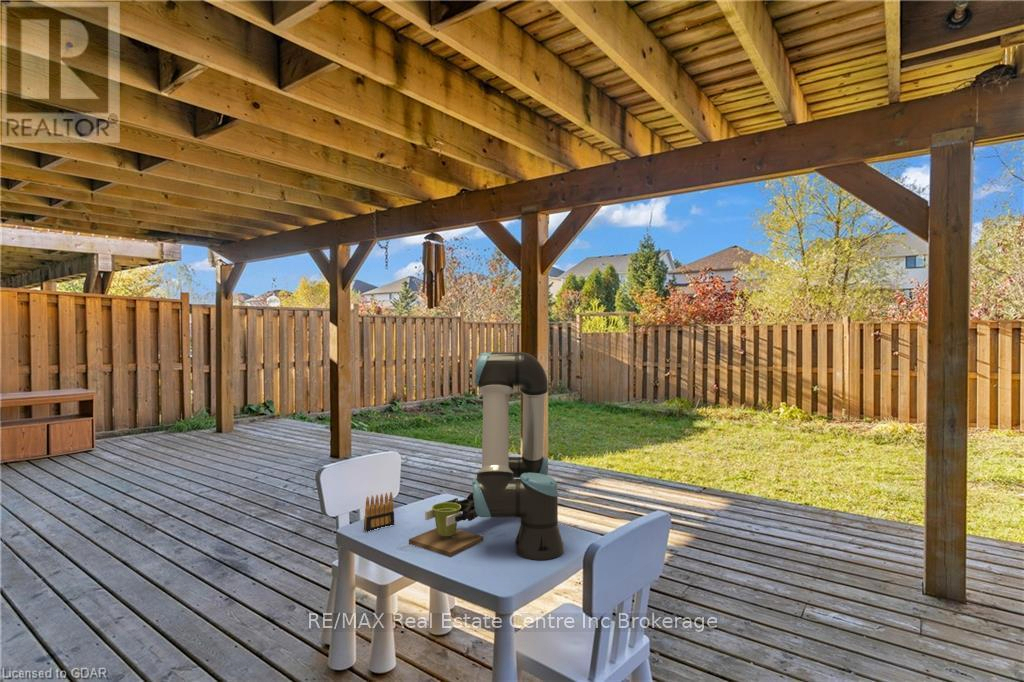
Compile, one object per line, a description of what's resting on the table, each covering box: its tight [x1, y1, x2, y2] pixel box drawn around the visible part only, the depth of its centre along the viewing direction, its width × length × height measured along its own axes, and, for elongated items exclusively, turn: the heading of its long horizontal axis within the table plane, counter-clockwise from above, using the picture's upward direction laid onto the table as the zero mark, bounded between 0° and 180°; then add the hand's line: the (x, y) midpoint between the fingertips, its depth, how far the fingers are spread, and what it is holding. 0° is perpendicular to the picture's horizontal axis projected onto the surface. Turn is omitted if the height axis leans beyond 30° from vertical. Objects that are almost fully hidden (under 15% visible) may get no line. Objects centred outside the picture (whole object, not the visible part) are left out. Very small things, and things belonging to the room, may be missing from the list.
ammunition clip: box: [363, 491, 395, 532], centre depth 182 cm, size 11×2×12 cm, turn 130°
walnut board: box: [408, 527, 485, 558], centre depth 169 cm, size 18×16×2 cm
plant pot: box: [431, 501, 461, 536], centre depth 169 cm, size 9×9×9 cm
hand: (436, 518), depth 165 cm, fingers closed on plant pot, 8 cm apart
